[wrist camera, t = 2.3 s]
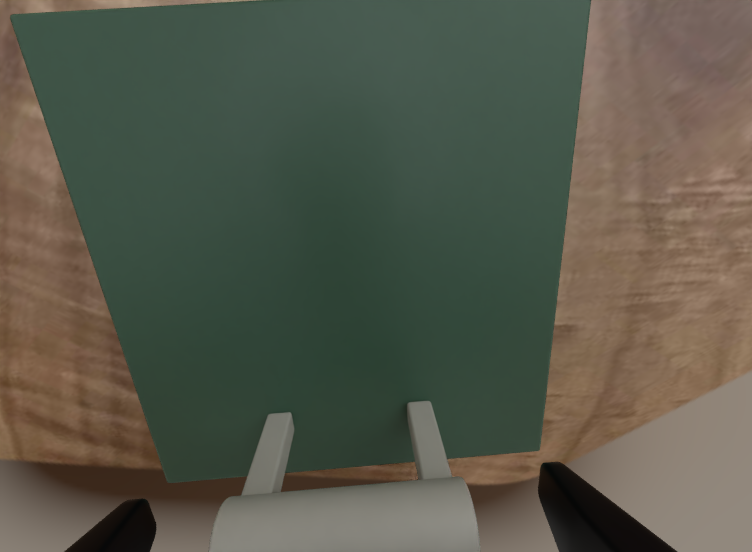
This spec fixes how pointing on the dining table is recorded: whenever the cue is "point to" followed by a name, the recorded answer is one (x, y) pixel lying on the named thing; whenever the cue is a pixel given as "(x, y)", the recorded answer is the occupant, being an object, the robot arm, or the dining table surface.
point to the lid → (324, 240)
